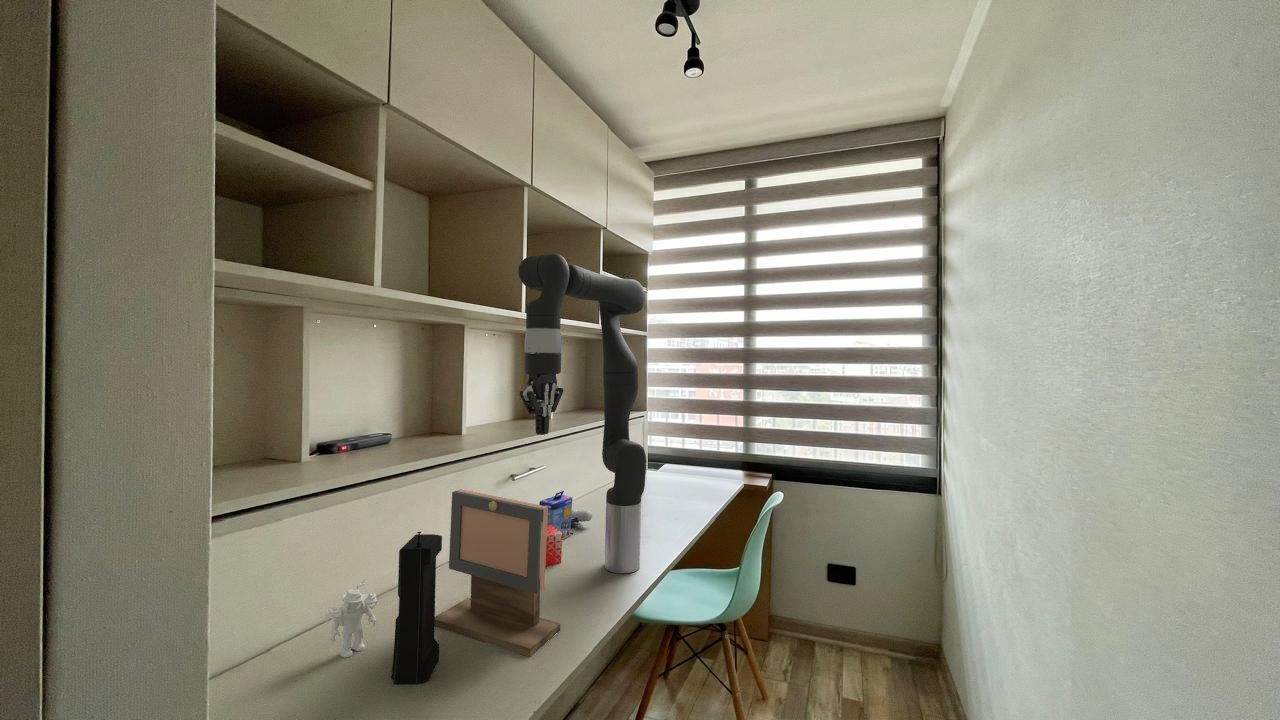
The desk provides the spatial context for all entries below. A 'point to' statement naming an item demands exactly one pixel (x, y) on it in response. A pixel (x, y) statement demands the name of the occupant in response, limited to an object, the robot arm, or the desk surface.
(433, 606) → the portable radio
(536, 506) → the picture frame
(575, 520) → the clip-on lamp
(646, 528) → the desk surface
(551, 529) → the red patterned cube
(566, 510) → the ink cartridge box
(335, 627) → the hat wearing toy figure
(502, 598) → the frame stand
